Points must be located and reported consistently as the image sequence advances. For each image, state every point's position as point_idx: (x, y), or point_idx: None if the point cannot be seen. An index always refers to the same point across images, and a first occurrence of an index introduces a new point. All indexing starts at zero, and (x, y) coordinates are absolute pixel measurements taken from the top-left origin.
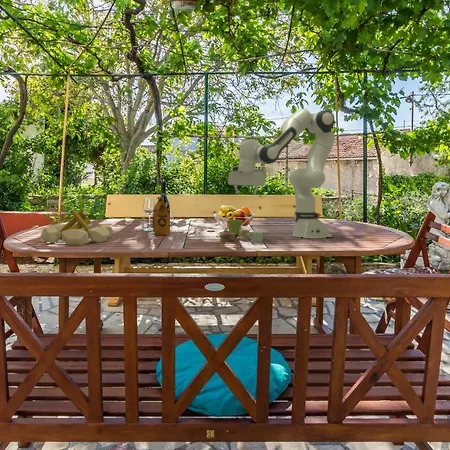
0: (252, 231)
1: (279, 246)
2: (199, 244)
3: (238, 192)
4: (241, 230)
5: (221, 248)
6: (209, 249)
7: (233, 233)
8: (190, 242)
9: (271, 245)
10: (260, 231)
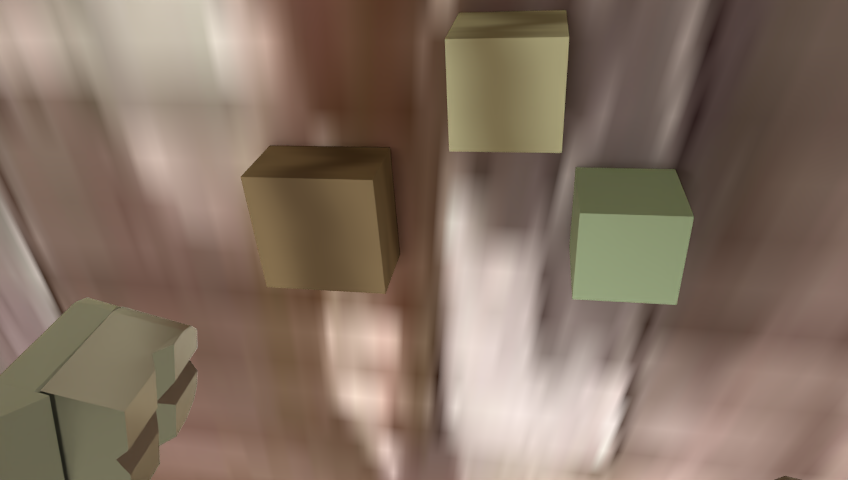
0: (578, 228)
1: (722, 437)
2: None
3: (176, 432)
4: (460, 144)
5: (316, 442)
6: (253, 456)
7: (372, 233)
8: (66, 243)
9: (675, 400)
10: (675, 232)
